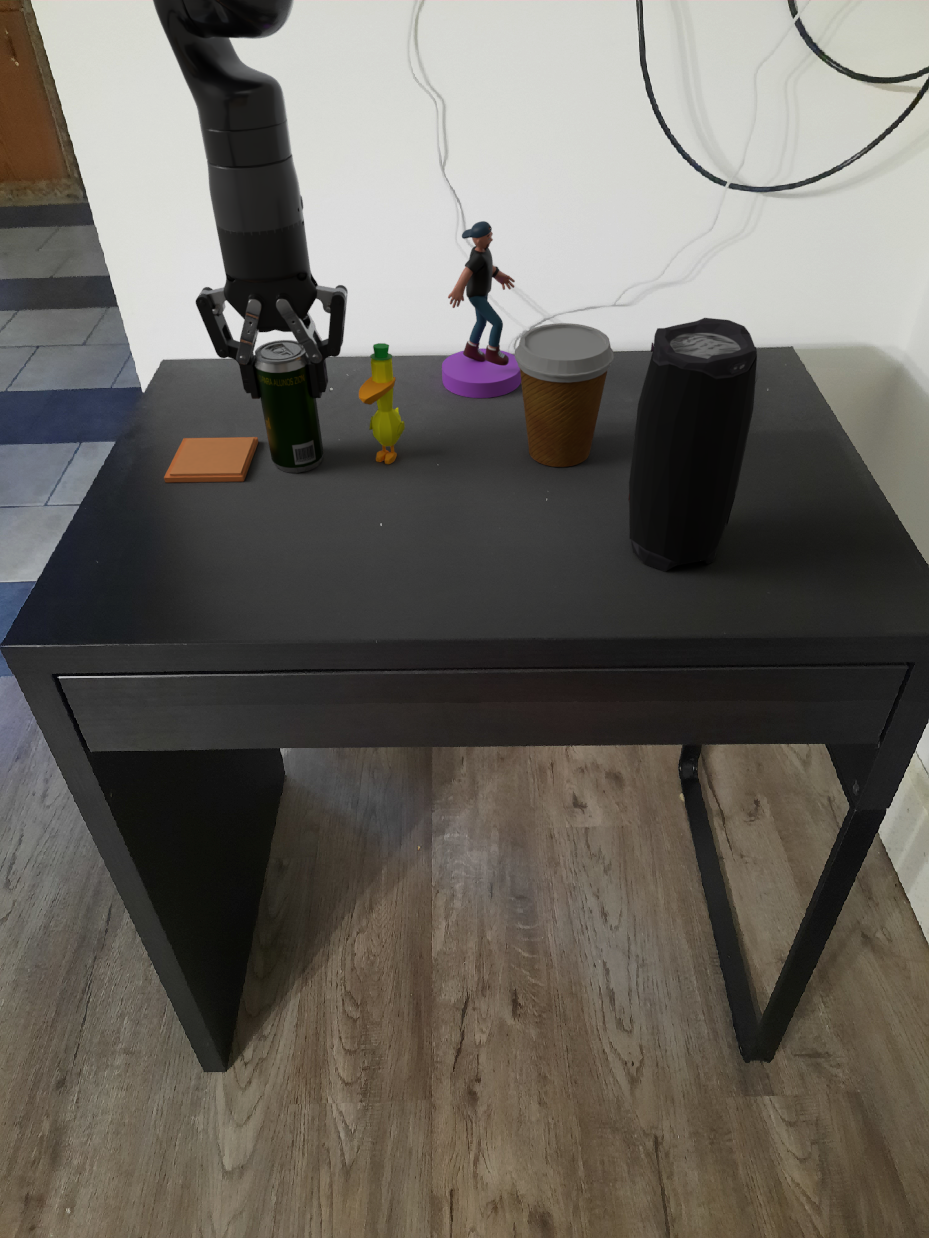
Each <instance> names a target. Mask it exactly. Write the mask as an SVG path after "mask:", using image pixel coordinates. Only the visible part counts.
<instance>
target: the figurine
mask: <svg viewBox="0 0 929 1238" xmlns="http://www.w3.org/2000/svg"><path fill="white" fill-rule="evenodd" d="M492 228H493V227H492V225H491V224H490V223H489V222H488V221H485V220H483V221H478V222H475V223H474V224H473V225H472V226H471V228H468V229H465V230H464V231H463V232H462V233H461V238H462V239H464V240H465V239H470V238H471V240H472V242H473V244H474V245H475V246H473V247H472V248H471V251H470V253H469V258H468V260H467V261H466V262H465V264H464V268H463V270H462V271H461V274H460V275H459V277H458V279H457V282H456V284H455V285H454V287H453V289H452V291H451V292H450V293H449V294H448V296H447V299H449V300H450V301H449V305H452V306H451V308H452V309H455V308H459V306H460V305H461V302H465V296H464V295H465V294H466V297H467V298H468V301H469V303H470V304H471V305H472V307H473V308H474V311H475V312H474V313H475V317H476V318H475V319H476V321H475V323H474V325H473V328H472V330H471V333H470V335H469V339H468V340H467V341H466V343H465V347H464V349H463V350H460V351H457V352H455V353H453V354H451V355H449V356H447V357H446V358H445V359H444V360H443V361H442V364H441V376H442V377H441V378H442V381H441V382H442V385H443V387H444V388H445V389H446V390H448V391H449V392H451V393H452V394H455V395H458V396H461V397H464V398H471V399H472V398H473V399H490V398H497V397H501V396H504V395H507V394H509V393H512V392H513V391H515V390H516V389H518V388H519V387H520V385H521V374H520V368H519V367H518V363H517V361H516V359H515V354H513V353H510V352H509V351H506V350H501V349H500V348H501V345H500V342H501V337H502V333H503V328H504V322H503V320H502V318H501V316H500V315H499V313H497V311H496V310H495V308H494V307H493V306H492V305H491V304H490V302H489V300H488V298H489V294H490V293H491V291H492V285H493V279H494V280H495V281H496V282H498V283H499V284H500V285H501V287H502V288H501V289H502V291H504V290H506V287H507V289H508V290H511V289H515V285H514V284H513V283H515V282H516V280H515V279H514V278H513V277H511V276H510V275H508V274H506V273H505V272H503V271H501V270H500V268H499V267H498V266H495V265H494V264H493V263H494V262H493V255H492V251H491V250H490V248H489V247H490V245H491V244H492V242H493V241H494V239H493V237H492V236H493V235H494V234H493V231H492ZM487 323H489V324H490V325H491V326H492V327H491V328H490V331H489V336H488V342H487V343H488V344H487V345H486V347H482V348H480V344H481V338H482V337H483V332H484V331H485V328H486V327H487Z"/></svg>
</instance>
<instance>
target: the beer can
mask: <svg viewBox="0 0 929 1238" xmlns="http://www.w3.org/2000/svg"><path fill="white" fill-rule="evenodd" d="M254 355H255V357H256V358H255V361H254V365H255V371H256V376H257V382H258V387H259V393H260V403H261V404H260V405H261V409H262V414H263V415H262V416H263V420H264V426H265V430H266V436H267V441H268V446H269V447H268V448H269V452H270V453H269V454H270V457H271V461H272V462H273V464H274V465H275V467H276V468H277V469H278V470H280V471H282V472H285V473H289V474H290V473H291V474H298V473H305V472H309V471H312V470H314V469H316V468H317V467H318V466H319V465H320V464H321V462H322V460H323V458H324V457H323V456H324V452H325V451H324V445H323V440H322V432H321V424H320V416H319V411H318V410H319V409H318V402H317V398H313V395H312V388H311V381H310V374H309V367H308V363H309V360H310V359H309V357H308V355H307V353H306V352H305V350H304V348H303V347H302V345H301V344H299V343H298V342H297V340H293V339H278V340H273V341H269V342H265V343H263V344H261V345H259V346H258V347H257V348H255V350H254Z"/></svg>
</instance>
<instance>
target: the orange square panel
mask: <svg viewBox="0 0 929 1238" xmlns="http://www.w3.org/2000/svg"><path fill="white" fill-rule="evenodd" d="M258 444H259V437H257V436H249V437H248V436H242V437H241V436H239V437H234V436H233V437H183V439H182V441H181V443H180V445H179V446H178V449H177V450H176V453H175V454H174V457H173V458H172V460H171V463H170V465H169V467H168V469H167V470H166V472H165V475H164V477H163V479H164V483H223V482H224V483H226V482H228V483H229V482H230V483H232V482H244V481H245V479H246V477H247V474H248V471H249V470H250V469H249V468H250V466H251V463H252V460H253V458H254V455H255V453H256V449H257V447H258Z"/></svg>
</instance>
